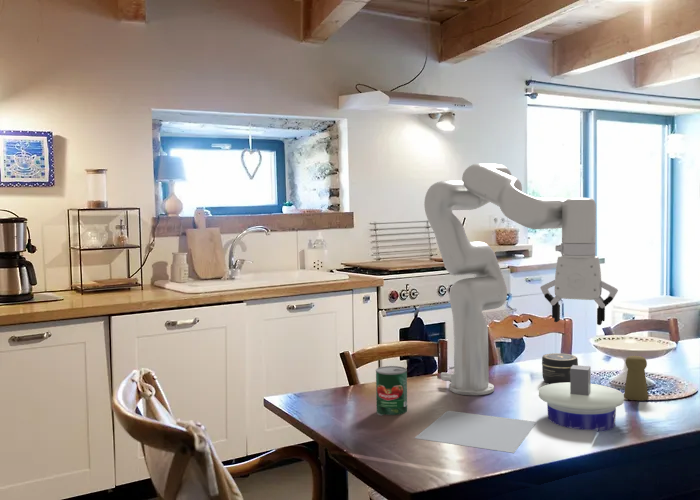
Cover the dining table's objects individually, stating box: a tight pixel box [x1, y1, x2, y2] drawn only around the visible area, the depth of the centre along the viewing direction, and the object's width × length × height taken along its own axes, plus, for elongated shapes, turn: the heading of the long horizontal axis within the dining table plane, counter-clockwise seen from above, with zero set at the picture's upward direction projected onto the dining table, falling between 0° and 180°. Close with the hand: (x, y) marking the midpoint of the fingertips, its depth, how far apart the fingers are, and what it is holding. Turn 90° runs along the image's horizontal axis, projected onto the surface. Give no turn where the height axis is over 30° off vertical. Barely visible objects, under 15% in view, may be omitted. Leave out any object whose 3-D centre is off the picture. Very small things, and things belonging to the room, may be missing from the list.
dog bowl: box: [546, 402, 617, 433], centre depth 155 cm, size 15×15×6 cm
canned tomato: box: [375, 365, 408, 417], centre depth 166 cm, size 8×8×11 cm
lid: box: [538, 364, 625, 410], centre depth 155 cm, size 19×19×7 cm
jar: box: [541, 352, 579, 385], centre depth 191 cm, size 10×10×8 cm
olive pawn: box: [623, 355, 650, 401], centre depth 174 cm, size 6×6×11 cm
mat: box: [414, 410, 538, 454], centre depth 150 cm, size 22×22×1 cm
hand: (578, 322), depth 155 cm, fingers open, 9 cm apart
